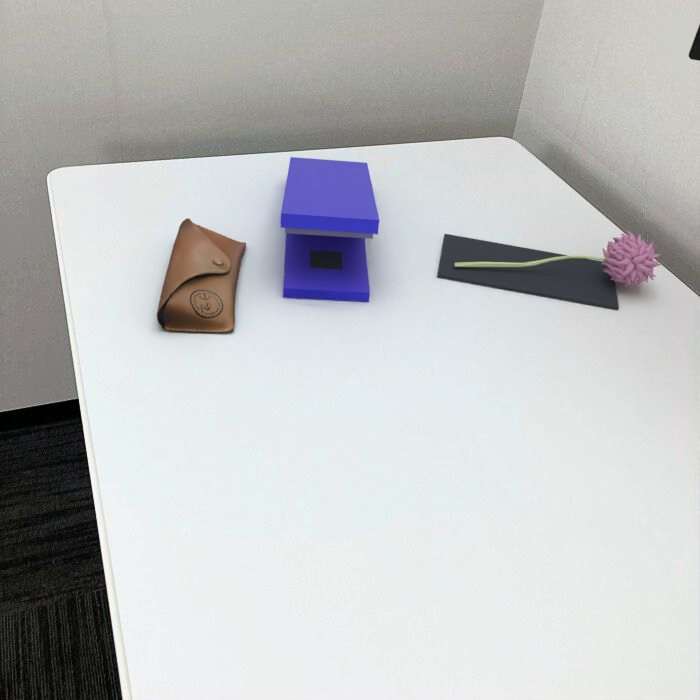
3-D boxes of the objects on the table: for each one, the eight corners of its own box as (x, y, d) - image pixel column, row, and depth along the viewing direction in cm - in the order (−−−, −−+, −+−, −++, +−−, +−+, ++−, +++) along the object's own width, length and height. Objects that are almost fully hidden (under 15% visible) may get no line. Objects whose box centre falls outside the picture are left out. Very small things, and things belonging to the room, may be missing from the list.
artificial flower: (458, 307, 94) (665, 295, 94) (459, 254, 91) (673, 241, 90) (451, 283, 100) (646, 272, 99) (452, 233, 96) (653, 221, 96)
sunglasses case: (238, 331, 82) (204, 285, 78) (182, 354, 84) (146, 311, 80) (248, 240, 96) (219, 197, 92) (199, 262, 98) (169, 221, 94)
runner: (611, 265, 101) (612, 263, 100) (618, 310, 93) (619, 307, 93) (444, 236, 102) (444, 233, 102) (437, 277, 95) (437, 274, 94)
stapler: (277, 297, 88) (280, 222, 82) (283, 180, 110) (286, 114, 104) (377, 302, 89) (387, 228, 83) (364, 185, 111) (371, 120, 105)
